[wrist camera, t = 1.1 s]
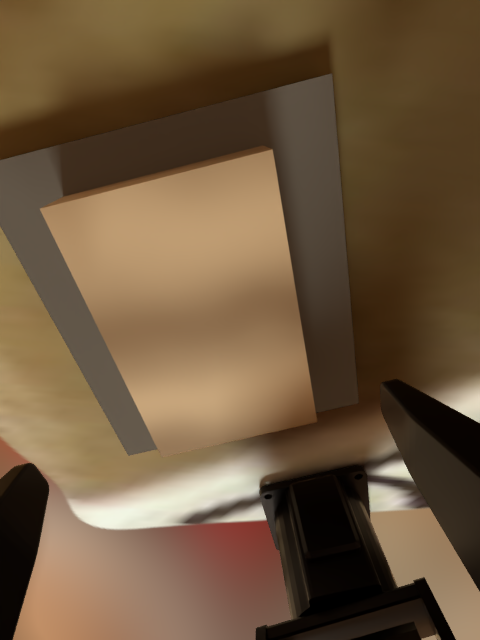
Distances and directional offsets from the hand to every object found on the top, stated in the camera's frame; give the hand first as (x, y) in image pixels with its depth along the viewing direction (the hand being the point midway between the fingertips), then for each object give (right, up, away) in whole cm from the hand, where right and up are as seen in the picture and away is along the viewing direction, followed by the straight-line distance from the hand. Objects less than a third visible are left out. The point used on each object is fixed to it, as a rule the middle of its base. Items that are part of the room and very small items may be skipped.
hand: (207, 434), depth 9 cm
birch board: (-1, +3, +6) cm, 7 cm away
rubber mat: (-1, +4, +7) cm, 8 cm away
